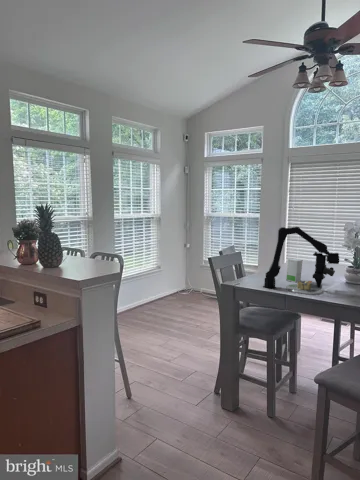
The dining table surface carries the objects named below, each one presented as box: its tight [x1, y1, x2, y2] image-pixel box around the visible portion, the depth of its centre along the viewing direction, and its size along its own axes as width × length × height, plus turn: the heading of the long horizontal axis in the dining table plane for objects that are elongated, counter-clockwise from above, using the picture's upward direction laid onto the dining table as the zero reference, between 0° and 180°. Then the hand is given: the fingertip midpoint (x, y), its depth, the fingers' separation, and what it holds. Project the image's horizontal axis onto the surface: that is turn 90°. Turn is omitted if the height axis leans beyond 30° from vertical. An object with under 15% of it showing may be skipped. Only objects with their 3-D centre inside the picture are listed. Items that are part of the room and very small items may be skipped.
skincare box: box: [285, 258, 303, 283], centre depth 250 cm, size 8×7×16 cm
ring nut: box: [296, 280, 323, 290], centre depth 224 cm, size 15×8×4 cm, turn 89°
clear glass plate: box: [285, 280, 323, 295], centre depth 224 cm, size 22×22×4 cm
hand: (319, 287), depth 222 cm, fingers closed
